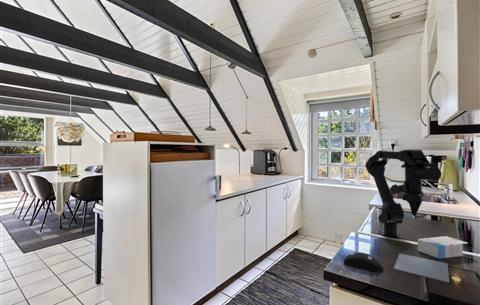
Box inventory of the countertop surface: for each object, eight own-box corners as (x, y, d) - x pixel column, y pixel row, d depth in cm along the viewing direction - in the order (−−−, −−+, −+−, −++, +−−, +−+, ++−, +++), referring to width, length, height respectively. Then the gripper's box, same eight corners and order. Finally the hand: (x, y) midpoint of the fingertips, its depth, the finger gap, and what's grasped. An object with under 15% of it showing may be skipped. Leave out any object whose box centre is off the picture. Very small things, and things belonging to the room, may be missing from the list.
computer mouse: (381, 276, 75) (380, 263, 75) (341, 265, 83) (341, 254, 83) (384, 267, 81) (384, 255, 81) (347, 258, 88) (347, 247, 89)
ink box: (439, 259, 86) (469, 255, 90) (438, 246, 87) (469, 242, 90) (417, 250, 95) (446, 247, 98) (416, 238, 95) (445, 235, 98)
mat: (399, 254, 91) (399, 253, 91) (447, 264, 83) (447, 263, 83) (393, 268, 79) (393, 268, 79) (449, 282, 70) (449, 281, 70)
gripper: (393, 176, 113) (394, 209, 112) (387, 179, 98) (388, 216, 98) (423, 177, 106) (424, 212, 105) (421, 180, 91) (422, 221, 91)
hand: (414, 215), depth 100 cm, fingers closed
